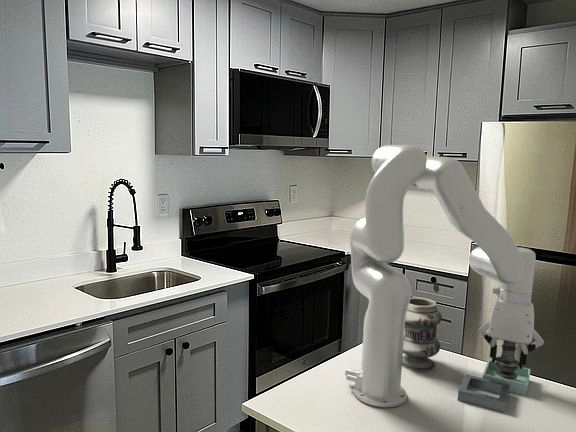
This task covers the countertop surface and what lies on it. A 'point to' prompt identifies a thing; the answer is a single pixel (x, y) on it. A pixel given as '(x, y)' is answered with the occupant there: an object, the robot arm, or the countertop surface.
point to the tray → (516, 385)
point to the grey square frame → (483, 399)
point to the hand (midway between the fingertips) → (507, 363)
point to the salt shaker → (507, 361)
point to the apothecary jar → (420, 334)
